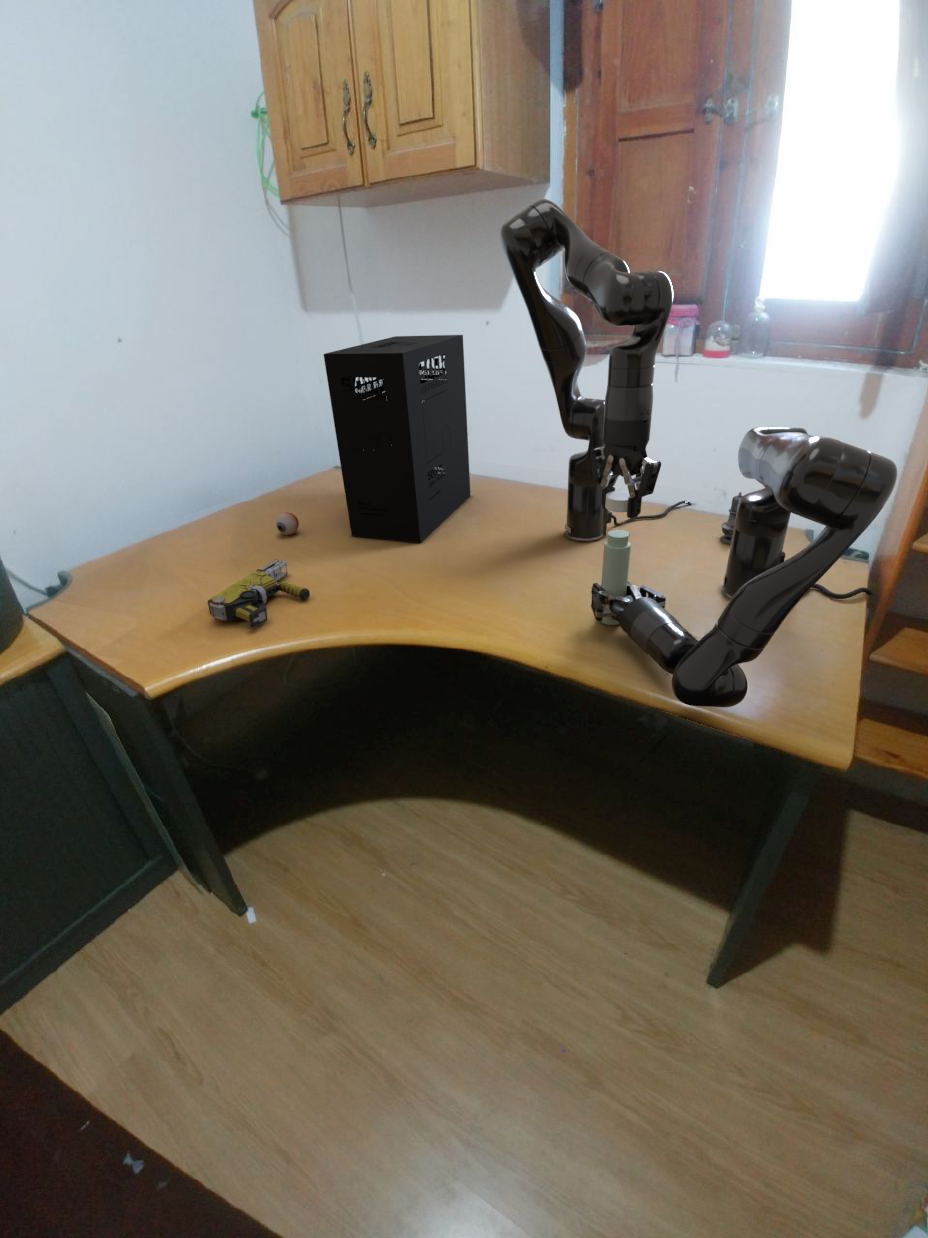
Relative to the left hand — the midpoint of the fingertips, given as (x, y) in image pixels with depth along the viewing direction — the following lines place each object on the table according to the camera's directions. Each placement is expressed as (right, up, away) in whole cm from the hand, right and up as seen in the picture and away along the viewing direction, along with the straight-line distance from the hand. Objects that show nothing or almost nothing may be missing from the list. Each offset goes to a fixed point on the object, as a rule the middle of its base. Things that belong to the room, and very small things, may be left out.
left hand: (620, 512), depth 106 cm
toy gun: (-69, -15, +25) cm, 75 cm away
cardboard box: (-42, +11, +67) cm, 80 cm away
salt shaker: (+38, 0, +40) cm, 55 cm away
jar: (+1, -19, +11) cm, 22 cm away
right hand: (0, -12, +10) cm, 16 cm away
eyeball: (-75, +4, +59) cm, 96 cm away
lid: (0, +2, -1) cm, 3 cm away
